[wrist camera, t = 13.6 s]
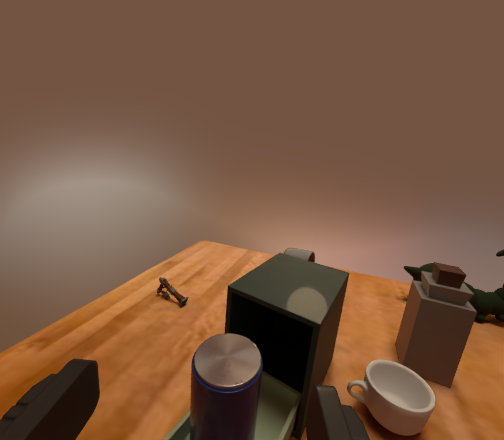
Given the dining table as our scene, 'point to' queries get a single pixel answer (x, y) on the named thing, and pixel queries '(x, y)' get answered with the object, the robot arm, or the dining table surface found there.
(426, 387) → the teacup
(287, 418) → the drawer
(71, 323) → the dining table surface
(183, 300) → the dark brown angled piece
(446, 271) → the perfume bottle
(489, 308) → the toy figurine
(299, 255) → the ceramic mug
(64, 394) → the robot arm
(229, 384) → the navy can
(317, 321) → the cubby
